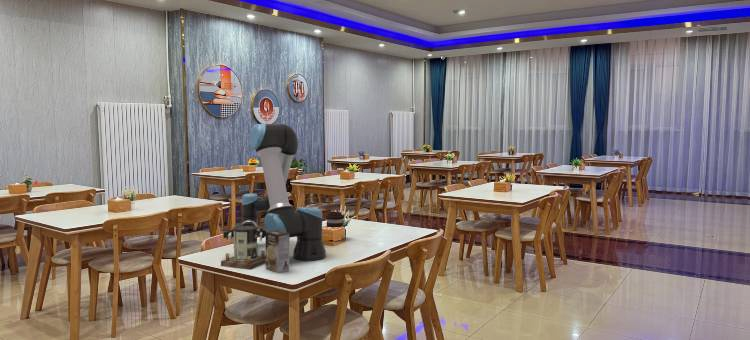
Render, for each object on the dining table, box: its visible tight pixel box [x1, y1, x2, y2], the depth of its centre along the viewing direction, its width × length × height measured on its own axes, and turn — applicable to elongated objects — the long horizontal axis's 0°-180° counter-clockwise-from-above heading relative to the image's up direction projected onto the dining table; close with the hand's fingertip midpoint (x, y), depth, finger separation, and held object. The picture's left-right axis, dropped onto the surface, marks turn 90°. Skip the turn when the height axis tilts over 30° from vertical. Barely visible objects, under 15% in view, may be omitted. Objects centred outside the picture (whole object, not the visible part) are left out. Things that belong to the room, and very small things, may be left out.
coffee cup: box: [325, 211, 345, 228], centre depth 284 cm, size 10×10×15 cm
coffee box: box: [265, 230, 290, 274], centre depth 224 cm, size 9×6×16 cm
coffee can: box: [232, 225, 258, 262], centre depth 233 cm, size 10×10×14 cm
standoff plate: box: [220, 250, 266, 270], centre depth 234 cm, size 15×15×5 cm
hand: (244, 238), depth 233 cm, fingers open, 13 cm apart
